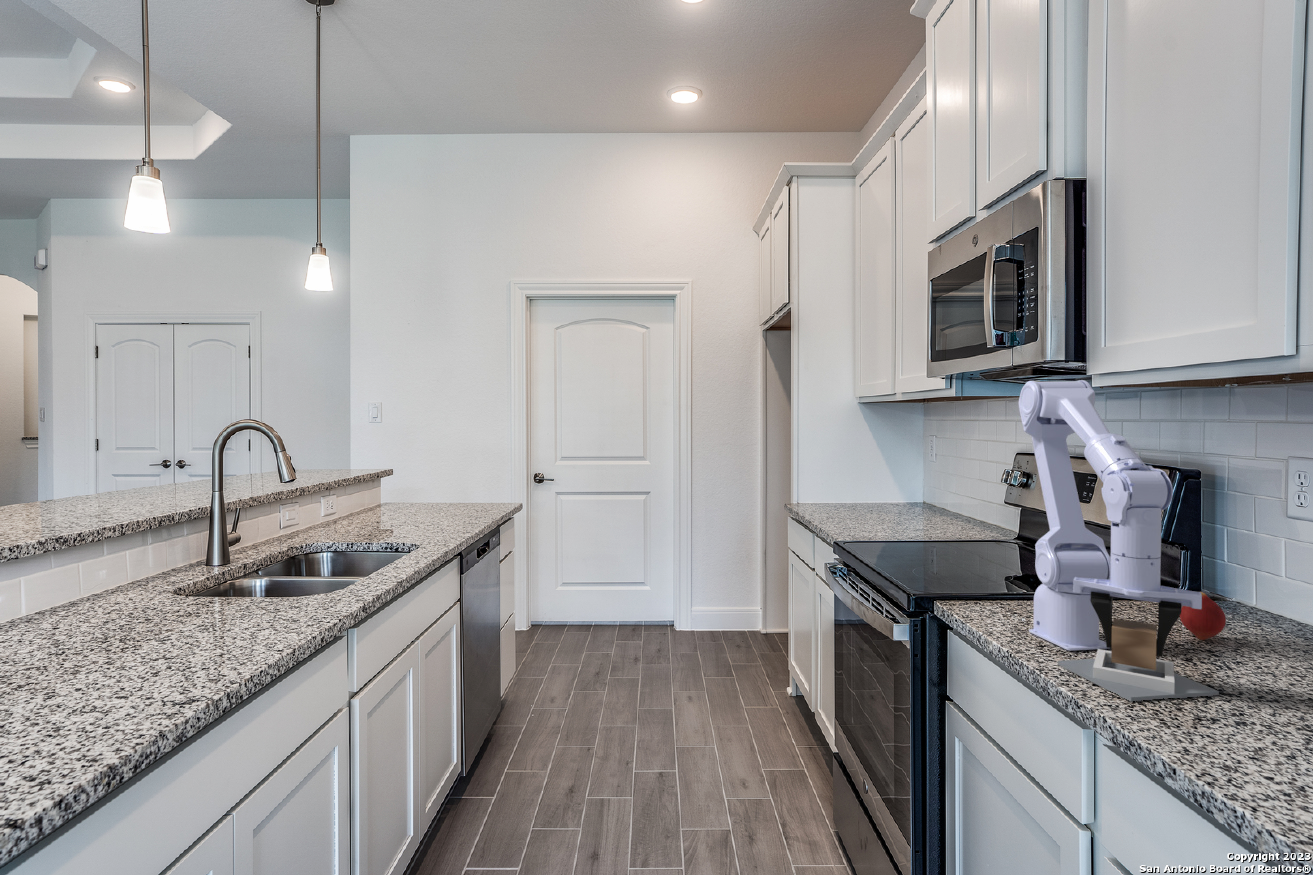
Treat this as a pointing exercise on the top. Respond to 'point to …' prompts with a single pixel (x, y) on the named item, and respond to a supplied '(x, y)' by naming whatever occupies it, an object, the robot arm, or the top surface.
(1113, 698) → the top surface
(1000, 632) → the top surface
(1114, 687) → the base plate
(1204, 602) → the onion
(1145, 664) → the block
